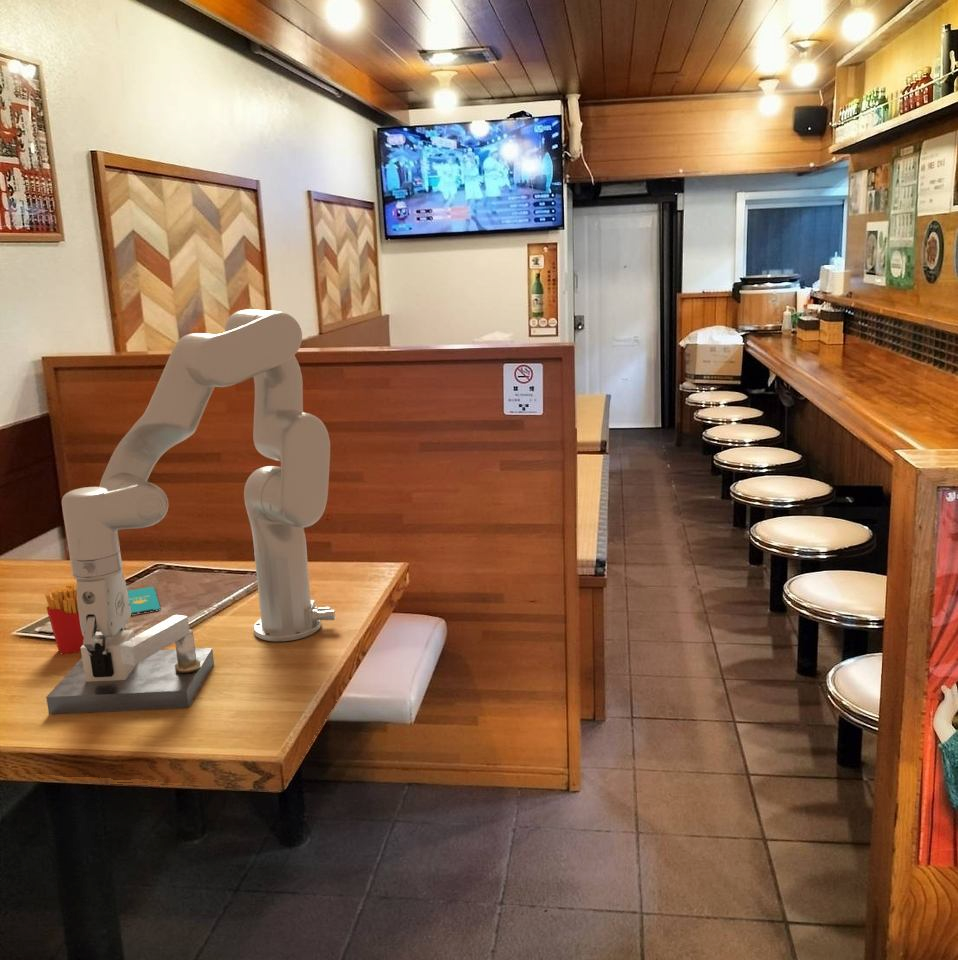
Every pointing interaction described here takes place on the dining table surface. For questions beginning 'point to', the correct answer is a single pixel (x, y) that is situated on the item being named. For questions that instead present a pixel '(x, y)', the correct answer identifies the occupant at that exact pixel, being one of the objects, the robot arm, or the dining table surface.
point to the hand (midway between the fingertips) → (111, 665)
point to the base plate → (132, 687)
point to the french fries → (65, 618)
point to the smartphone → (143, 600)
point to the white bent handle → (163, 644)
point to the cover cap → (113, 646)
